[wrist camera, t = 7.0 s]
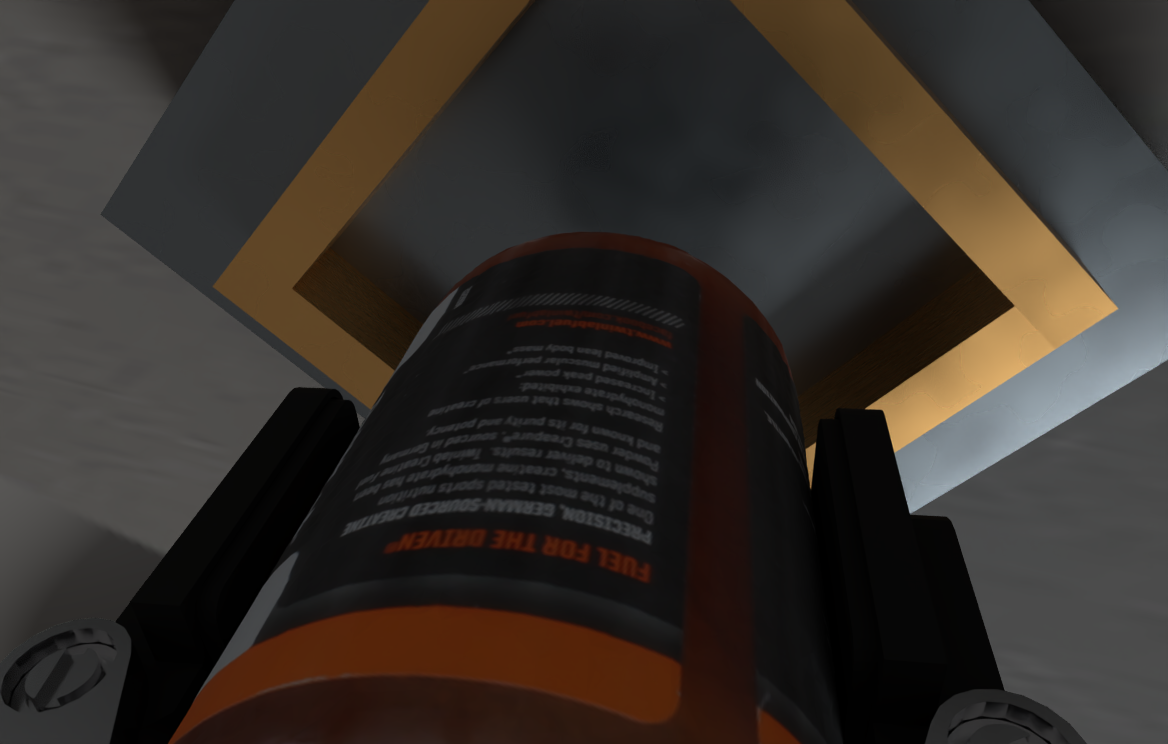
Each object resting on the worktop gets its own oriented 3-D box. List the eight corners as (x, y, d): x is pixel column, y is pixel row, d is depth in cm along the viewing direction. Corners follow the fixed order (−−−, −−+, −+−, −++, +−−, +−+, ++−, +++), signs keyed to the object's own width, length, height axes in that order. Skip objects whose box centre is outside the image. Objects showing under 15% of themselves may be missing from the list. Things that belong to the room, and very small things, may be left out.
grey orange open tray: (1165, 202, 21) (1328, 350, 15) (681, 533, 29) (668, 717, 23) (452, -662, 15) (277, -954, 10) (80, 36, 23) (-145, 112, 17)
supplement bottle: (347, 315, 14) (-486, 1344, 4) (690, 142, 12) (537, 1377, 2) (540, 579, 16) (271, 1641, 7) (857, 473, 14) (1133, 1796, 5)
